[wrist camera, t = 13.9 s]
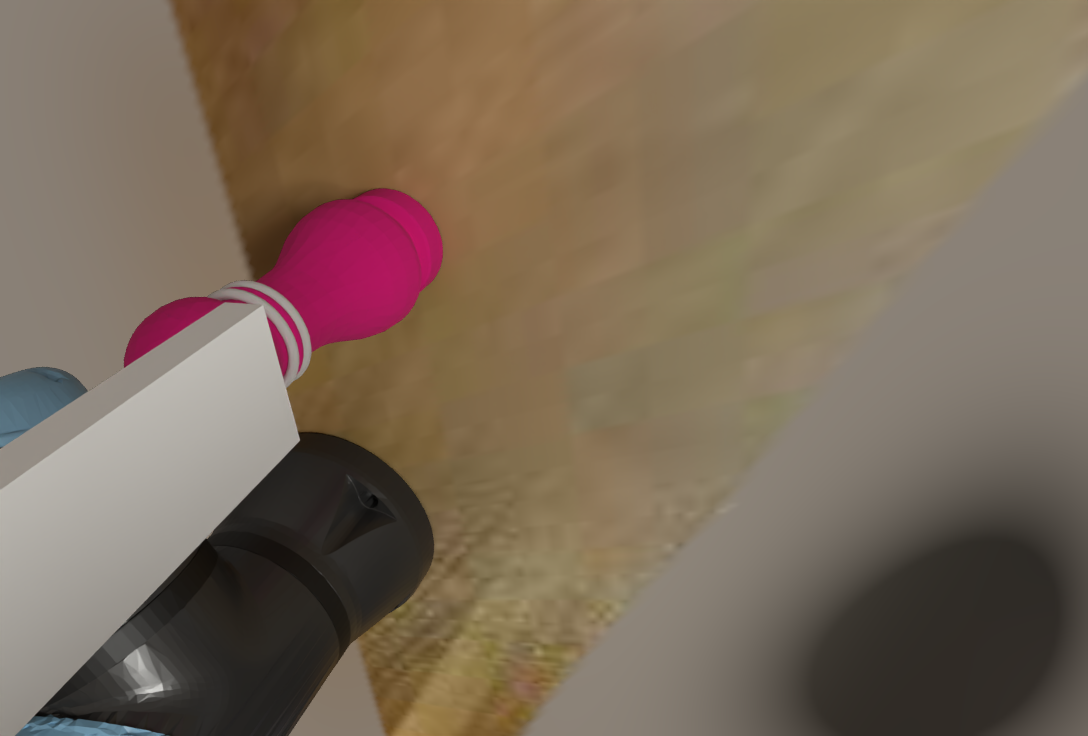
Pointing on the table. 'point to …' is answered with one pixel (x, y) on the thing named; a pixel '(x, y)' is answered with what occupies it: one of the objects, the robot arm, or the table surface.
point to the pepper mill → (325, 279)
